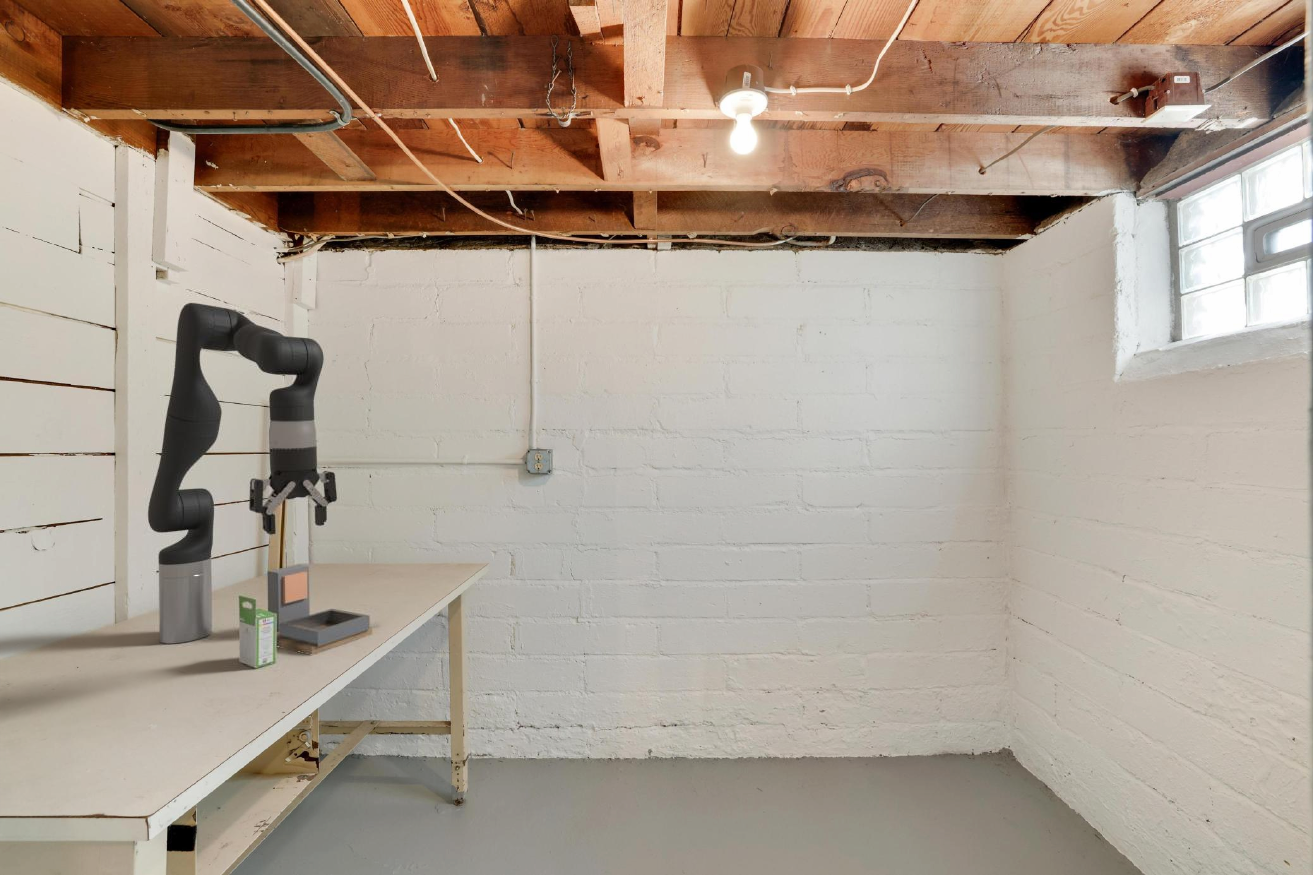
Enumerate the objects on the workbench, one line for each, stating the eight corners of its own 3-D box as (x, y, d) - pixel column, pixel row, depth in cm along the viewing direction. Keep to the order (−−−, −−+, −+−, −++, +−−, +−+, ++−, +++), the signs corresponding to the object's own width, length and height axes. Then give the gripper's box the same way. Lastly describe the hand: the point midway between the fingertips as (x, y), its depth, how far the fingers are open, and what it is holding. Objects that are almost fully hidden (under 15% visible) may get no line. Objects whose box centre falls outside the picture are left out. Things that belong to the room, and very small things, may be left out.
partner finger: (268, 628, 131) (267, 571, 131) (299, 619, 138) (298, 564, 138) (281, 631, 129) (280, 573, 129) (311, 622, 135) (311, 566, 135)
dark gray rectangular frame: (263, 633, 128) (262, 620, 128) (316, 618, 139) (315, 605, 139) (318, 646, 119) (317, 631, 119) (369, 628, 130) (369, 615, 130)
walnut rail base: (249, 639, 129) (249, 632, 129) (310, 621, 141) (310, 615, 141) (311, 655, 119) (311, 647, 119) (372, 633, 131) (372, 627, 131)
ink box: (277, 662, 115) (276, 595, 115) (255, 669, 112) (254, 599, 112) (260, 656, 119) (260, 590, 119) (238, 662, 115) (237, 595, 115)
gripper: (323, 440, 117) (325, 519, 118) (241, 445, 105) (244, 533, 107) (342, 443, 112) (344, 525, 114) (258, 449, 101) (261, 540, 102)
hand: (295, 529), depth 110 cm, fingers open, 8 cm apart
